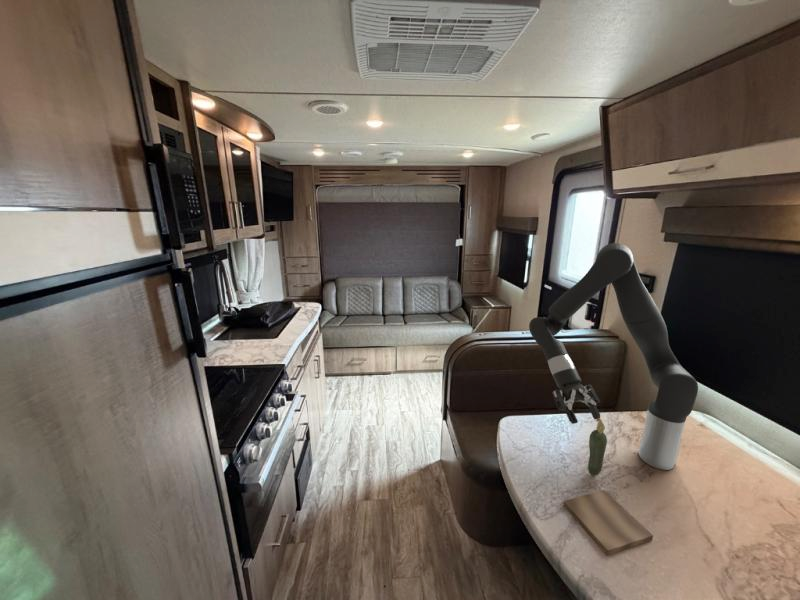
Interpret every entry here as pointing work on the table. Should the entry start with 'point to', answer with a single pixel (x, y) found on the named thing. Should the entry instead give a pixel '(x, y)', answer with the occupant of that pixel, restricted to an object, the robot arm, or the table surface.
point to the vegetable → (597, 449)
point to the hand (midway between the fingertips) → (586, 421)
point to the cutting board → (607, 522)
